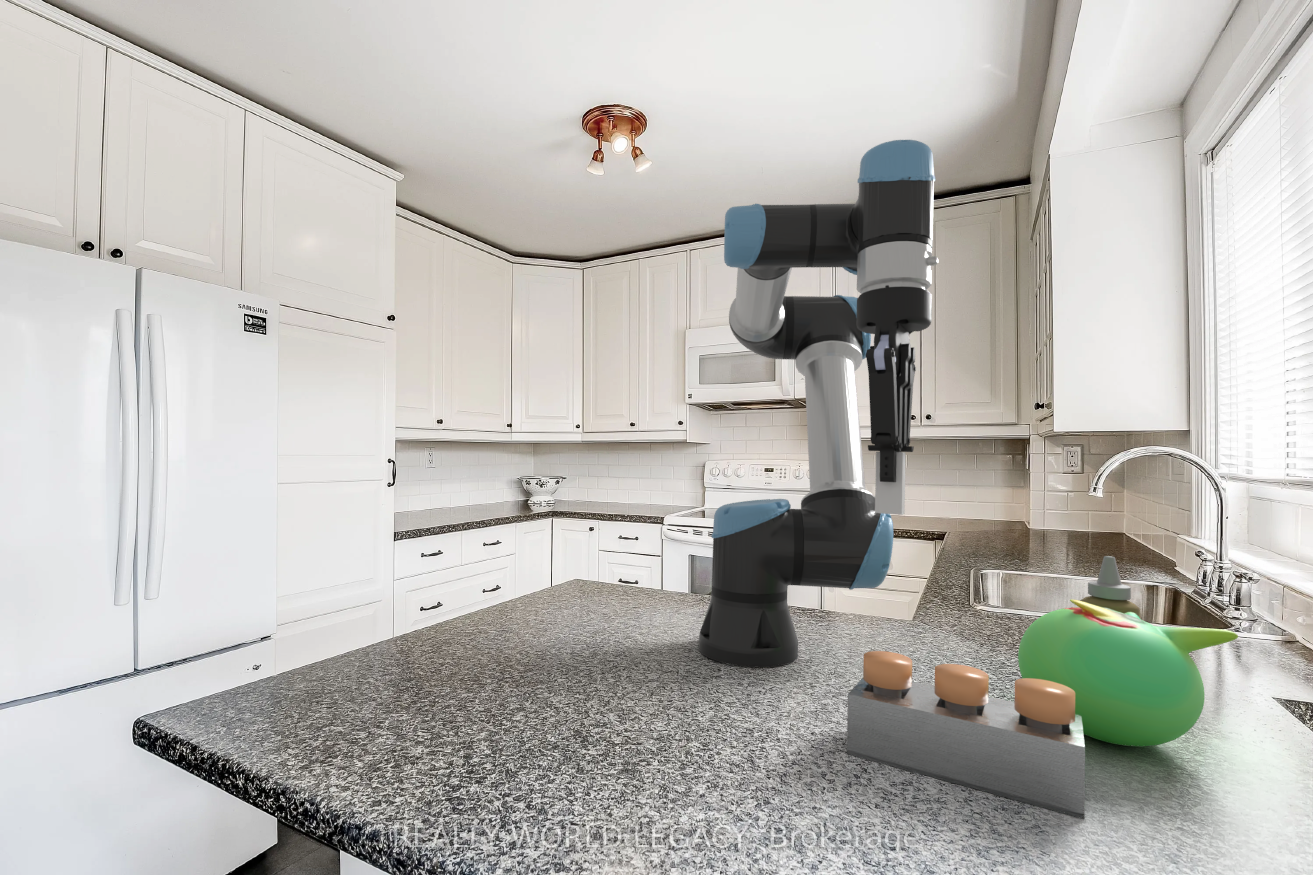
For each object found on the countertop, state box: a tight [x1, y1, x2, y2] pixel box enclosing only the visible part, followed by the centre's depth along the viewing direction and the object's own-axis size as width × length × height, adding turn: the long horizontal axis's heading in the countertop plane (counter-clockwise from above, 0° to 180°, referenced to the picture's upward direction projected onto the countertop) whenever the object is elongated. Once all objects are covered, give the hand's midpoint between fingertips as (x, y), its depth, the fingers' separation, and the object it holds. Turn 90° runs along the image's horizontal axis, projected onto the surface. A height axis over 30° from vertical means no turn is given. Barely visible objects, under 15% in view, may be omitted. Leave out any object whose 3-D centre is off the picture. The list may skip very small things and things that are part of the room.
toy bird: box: [1017, 598, 1239, 747], centre depth 70 cm, size 18×17×15 cm
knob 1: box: [862, 650, 913, 699], centre depth 66 cm, size 5×5×8 cm
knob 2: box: [1014, 677, 1075, 734], centre depth 58 cm, size 5×5×8 cm
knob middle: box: [934, 663, 990, 715], centre depth 62 cm, size 5×5×8 cm
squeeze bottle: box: [1079, 555, 1142, 620], centre depth 83 cm, size 8×8×18 cm
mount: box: [846, 677, 1086, 820], centre depth 62 cm, size 20×8×6 cm, turn 58°
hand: (889, 513), depth 67 cm, fingers closed
